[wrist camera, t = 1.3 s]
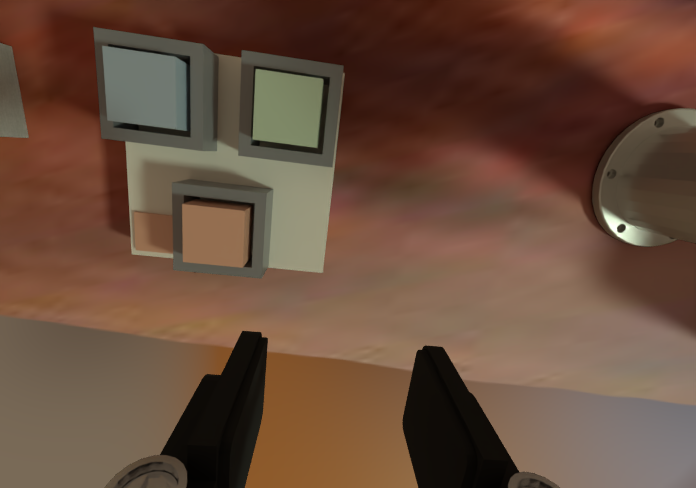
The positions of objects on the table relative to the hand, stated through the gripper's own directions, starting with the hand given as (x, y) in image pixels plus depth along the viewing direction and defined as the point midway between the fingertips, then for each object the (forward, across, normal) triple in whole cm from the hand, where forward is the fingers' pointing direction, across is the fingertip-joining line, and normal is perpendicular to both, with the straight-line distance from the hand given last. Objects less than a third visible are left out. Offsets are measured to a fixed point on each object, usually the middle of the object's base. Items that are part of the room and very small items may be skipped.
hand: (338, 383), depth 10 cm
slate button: (+17, +13, -9) cm, 23 cm away
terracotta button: (+17, +9, 0) cm, 19 cm away
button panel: (+21, +8, -4) cm, 23 cm away
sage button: (+17, +4, -9) cm, 19 cm away
